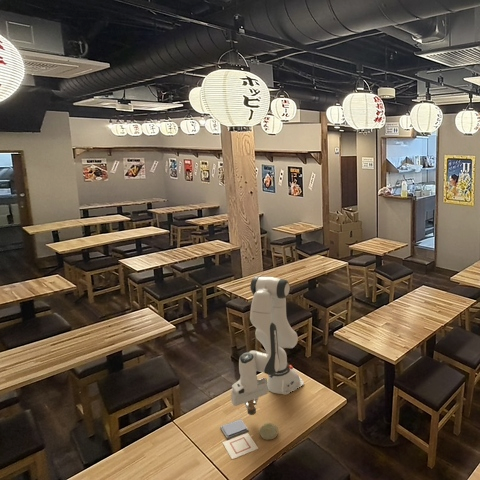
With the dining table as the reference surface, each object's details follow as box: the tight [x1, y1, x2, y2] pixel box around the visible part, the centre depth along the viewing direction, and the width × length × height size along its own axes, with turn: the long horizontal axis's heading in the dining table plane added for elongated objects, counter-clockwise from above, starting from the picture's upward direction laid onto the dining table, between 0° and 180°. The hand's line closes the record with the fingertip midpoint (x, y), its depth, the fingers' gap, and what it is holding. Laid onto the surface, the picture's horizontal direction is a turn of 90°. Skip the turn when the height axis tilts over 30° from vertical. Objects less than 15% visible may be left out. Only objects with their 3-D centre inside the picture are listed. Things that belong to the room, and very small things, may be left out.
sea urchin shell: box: [258, 422, 279, 441], centre depth 202 cm, size 9×8×8 cm
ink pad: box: [220, 418, 249, 440], centre depth 207 cm, size 12×9×2 cm
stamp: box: [246, 399, 257, 416], centre depth 210 cm, size 4×4×9 cm
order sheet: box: [222, 432, 259, 460], centre depth 197 cm, size 14×12×1 cm
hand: (251, 405), depth 210 cm, fingers closed on stamp, 3 cm apart
